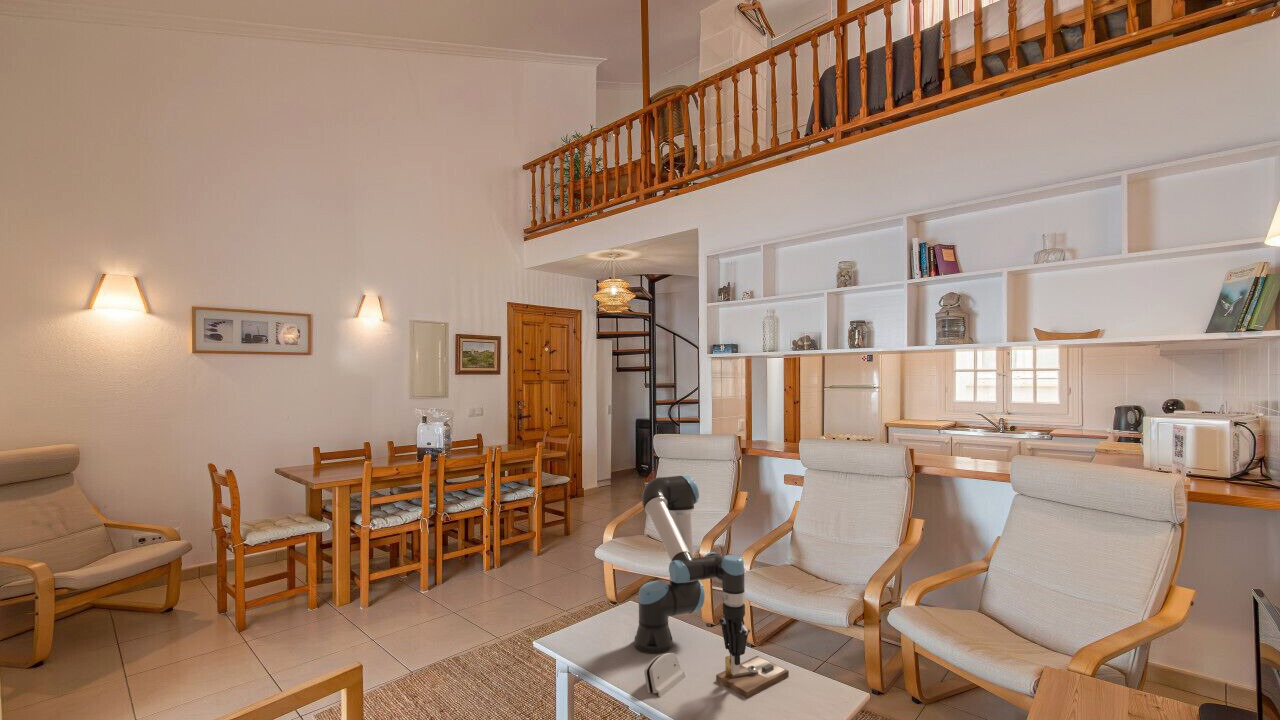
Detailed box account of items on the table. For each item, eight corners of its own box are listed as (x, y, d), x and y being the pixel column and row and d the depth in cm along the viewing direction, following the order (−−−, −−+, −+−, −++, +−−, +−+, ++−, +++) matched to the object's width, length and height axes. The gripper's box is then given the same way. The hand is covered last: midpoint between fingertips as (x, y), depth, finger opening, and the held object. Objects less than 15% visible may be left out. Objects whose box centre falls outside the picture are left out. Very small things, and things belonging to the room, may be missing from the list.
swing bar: (754, 668, 204) (754, 651, 204) (758, 673, 201) (758, 655, 201) (723, 674, 200) (723, 656, 200) (727, 678, 197) (727, 660, 197)
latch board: (716, 680, 200) (716, 670, 201) (757, 661, 214) (757, 651, 214) (747, 698, 189) (746, 687, 190) (788, 676, 203) (788, 666, 203)
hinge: (659, 697, 190) (651, 665, 192) (648, 698, 192) (640, 666, 195) (686, 676, 203) (678, 646, 206) (675, 677, 206) (667, 647, 208)
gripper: (713, 599, 201) (714, 668, 200) (738, 611, 190) (740, 684, 189) (729, 595, 205) (730, 662, 204) (755, 606, 194) (756, 677, 193)
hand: (735, 673), depth 197 cm, fingers closed
